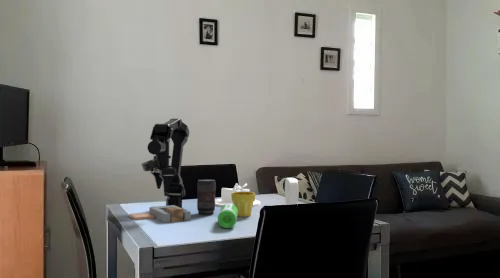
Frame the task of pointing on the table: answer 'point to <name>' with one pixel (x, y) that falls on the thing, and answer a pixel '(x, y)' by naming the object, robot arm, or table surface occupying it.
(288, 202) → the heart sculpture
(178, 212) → the walnut block
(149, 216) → the terracotta tile
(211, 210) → the camera lens
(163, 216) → the pocket board
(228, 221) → the speaker
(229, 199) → the dish
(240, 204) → the plant pot
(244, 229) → the table surface
